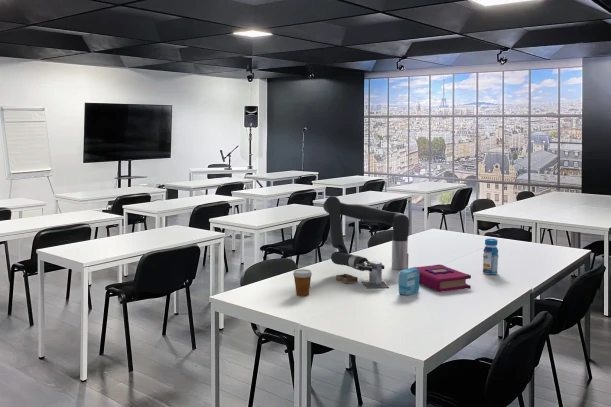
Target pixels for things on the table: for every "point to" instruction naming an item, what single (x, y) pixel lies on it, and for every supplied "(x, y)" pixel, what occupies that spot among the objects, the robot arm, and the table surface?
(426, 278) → the book
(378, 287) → the black mat
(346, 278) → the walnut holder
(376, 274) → the light grey rectangular block
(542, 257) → the table surface
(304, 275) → the disposable coffee cup
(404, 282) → the data package
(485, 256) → the beverage bottle
